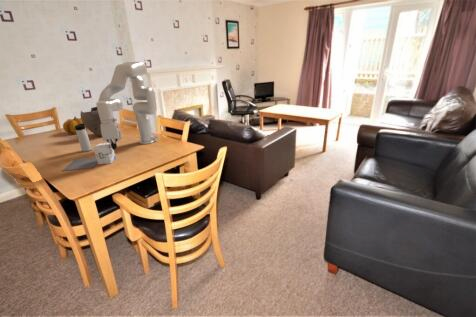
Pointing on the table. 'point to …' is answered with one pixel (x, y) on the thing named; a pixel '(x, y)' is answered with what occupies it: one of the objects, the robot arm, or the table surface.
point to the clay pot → (92, 121)
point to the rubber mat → (81, 164)
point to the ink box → (104, 153)
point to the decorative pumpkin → (72, 125)
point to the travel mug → (83, 138)
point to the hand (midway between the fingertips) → (114, 148)
